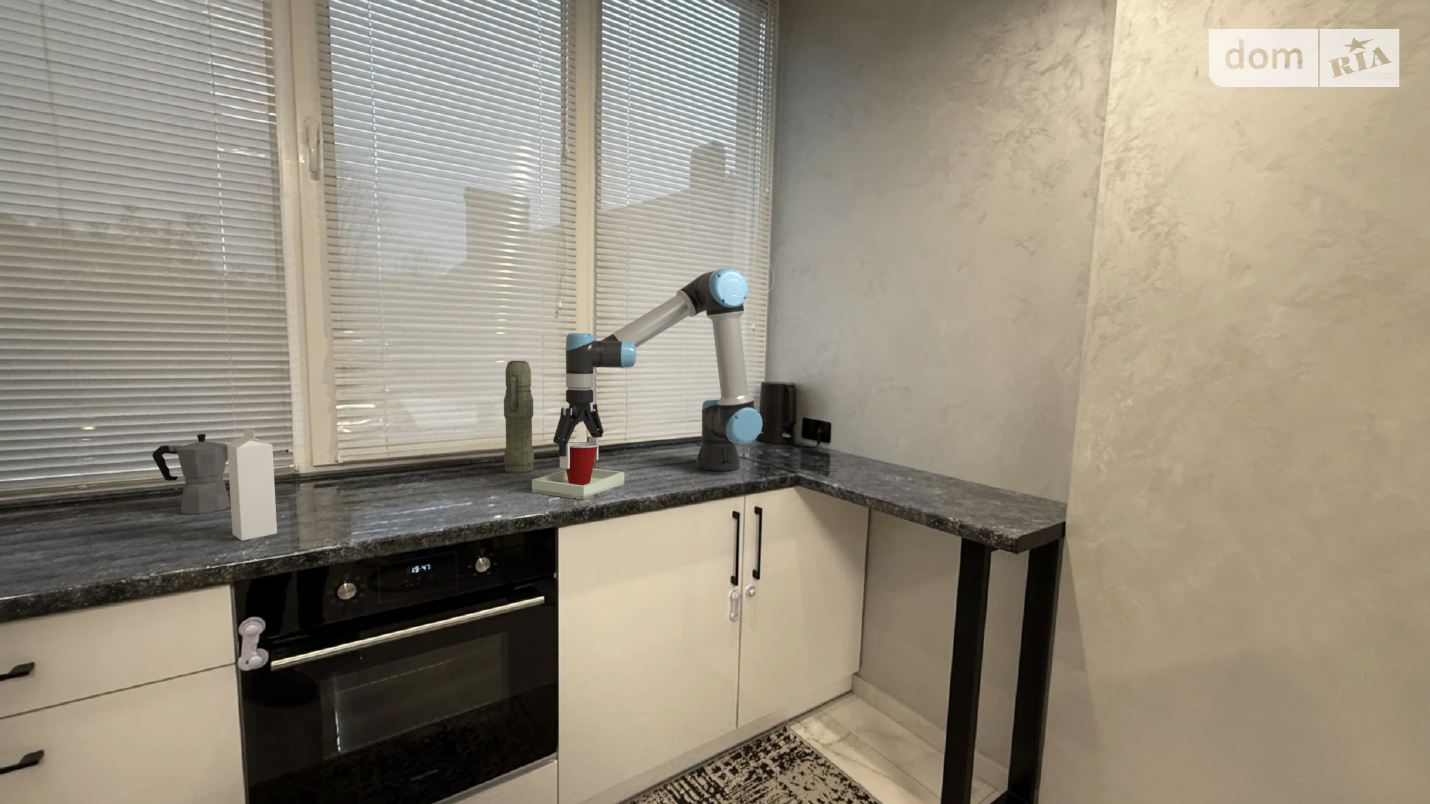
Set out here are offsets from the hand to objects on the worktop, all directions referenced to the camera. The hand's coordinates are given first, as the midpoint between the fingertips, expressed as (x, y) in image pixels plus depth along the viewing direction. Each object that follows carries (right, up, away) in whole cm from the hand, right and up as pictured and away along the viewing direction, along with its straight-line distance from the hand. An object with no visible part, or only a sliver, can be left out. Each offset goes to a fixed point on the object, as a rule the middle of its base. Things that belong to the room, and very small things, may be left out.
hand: (579, 463), depth 164 cm
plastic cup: (0, -6, +1) cm, 6 cm away
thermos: (-24, -5, +22) cm, 33 cm away
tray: (0, -7, +1) cm, 7 cm away
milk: (-57, -10, -44) cm, 73 cm away
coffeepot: (-83, -8, -27) cm, 88 cm away
